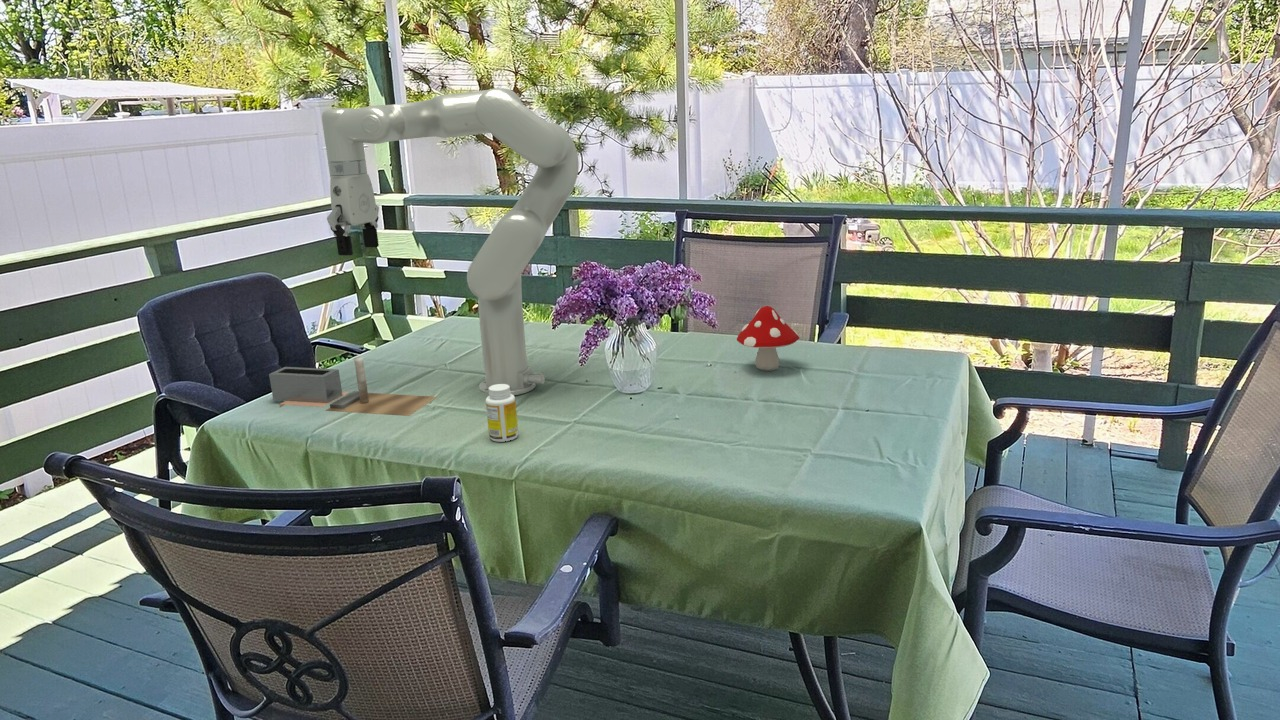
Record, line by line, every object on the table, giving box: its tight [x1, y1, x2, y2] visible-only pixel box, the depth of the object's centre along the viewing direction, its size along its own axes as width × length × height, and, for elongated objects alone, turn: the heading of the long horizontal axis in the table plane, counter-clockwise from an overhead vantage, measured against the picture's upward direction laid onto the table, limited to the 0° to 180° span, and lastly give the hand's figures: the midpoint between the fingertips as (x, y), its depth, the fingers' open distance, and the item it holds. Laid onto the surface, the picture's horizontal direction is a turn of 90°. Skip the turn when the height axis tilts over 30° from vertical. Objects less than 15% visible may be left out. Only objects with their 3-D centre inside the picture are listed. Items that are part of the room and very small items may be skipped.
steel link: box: [268, 366, 343, 404], centre depth 197 cm, size 14×5×6 cm, turn 74°
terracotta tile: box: [279, 390, 350, 408], centre depth 198 cm, size 11×10×1 cm
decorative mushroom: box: [736, 305, 800, 372], centre depth 203 cm, size 14×14×15 cm
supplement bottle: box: [485, 384, 519, 443], centre depth 170 cm, size 6×6×10 cm
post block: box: [325, 356, 438, 417], centre depth 191 cm, size 20×12×11 cm, turn 73°
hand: (359, 250), depth 192 cm, fingers open, 9 cm apart
